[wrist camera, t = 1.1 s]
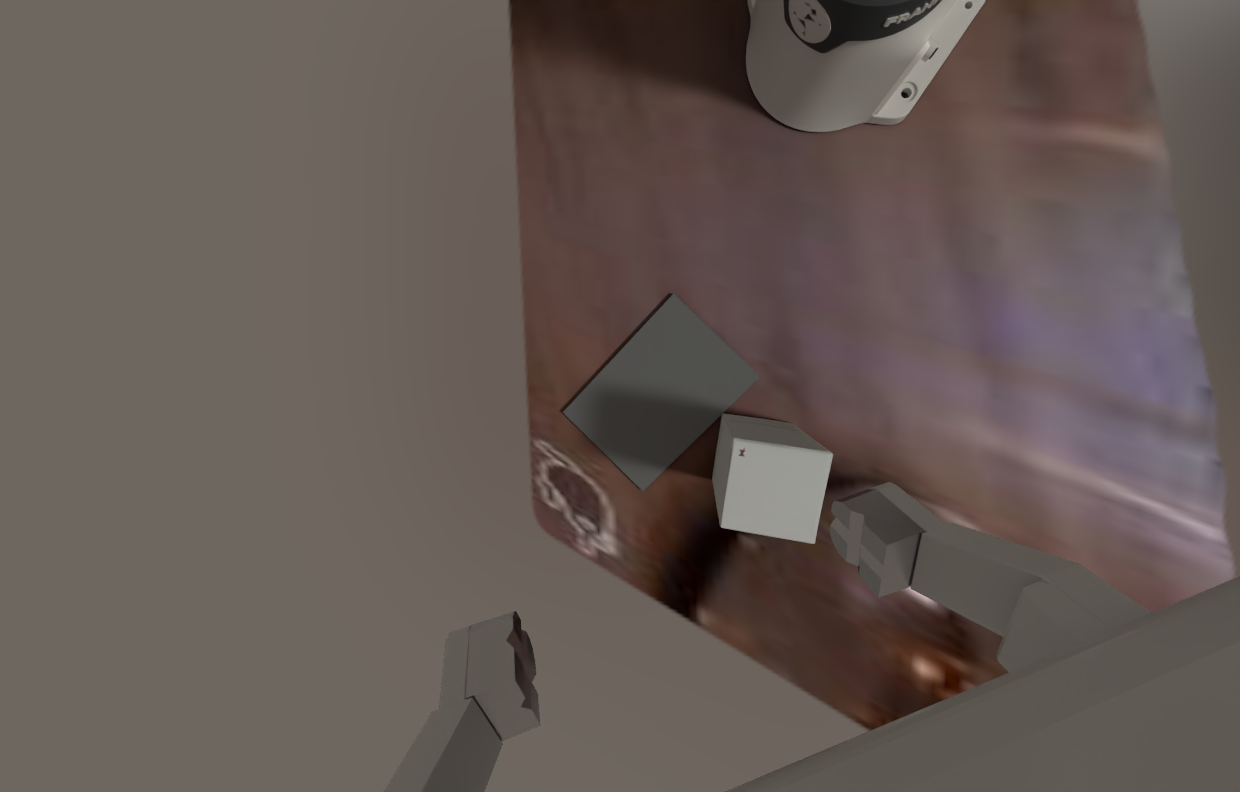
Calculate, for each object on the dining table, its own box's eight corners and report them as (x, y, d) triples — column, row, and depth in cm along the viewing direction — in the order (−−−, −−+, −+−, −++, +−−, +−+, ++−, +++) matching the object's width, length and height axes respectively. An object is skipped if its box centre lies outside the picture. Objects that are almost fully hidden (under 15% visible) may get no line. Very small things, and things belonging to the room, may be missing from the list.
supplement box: (710, 480, 47) (715, 528, 34) (721, 411, 46) (731, 434, 34) (783, 493, 46) (816, 547, 33) (796, 422, 45) (835, 451, 32)
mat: (673, 294, 45) (673, 293, 45) (760, 376, 45) (760, 376, 44) (563, 411, 49) (562, 412, 48) (643, 490, 48) (642, 491, 48)
